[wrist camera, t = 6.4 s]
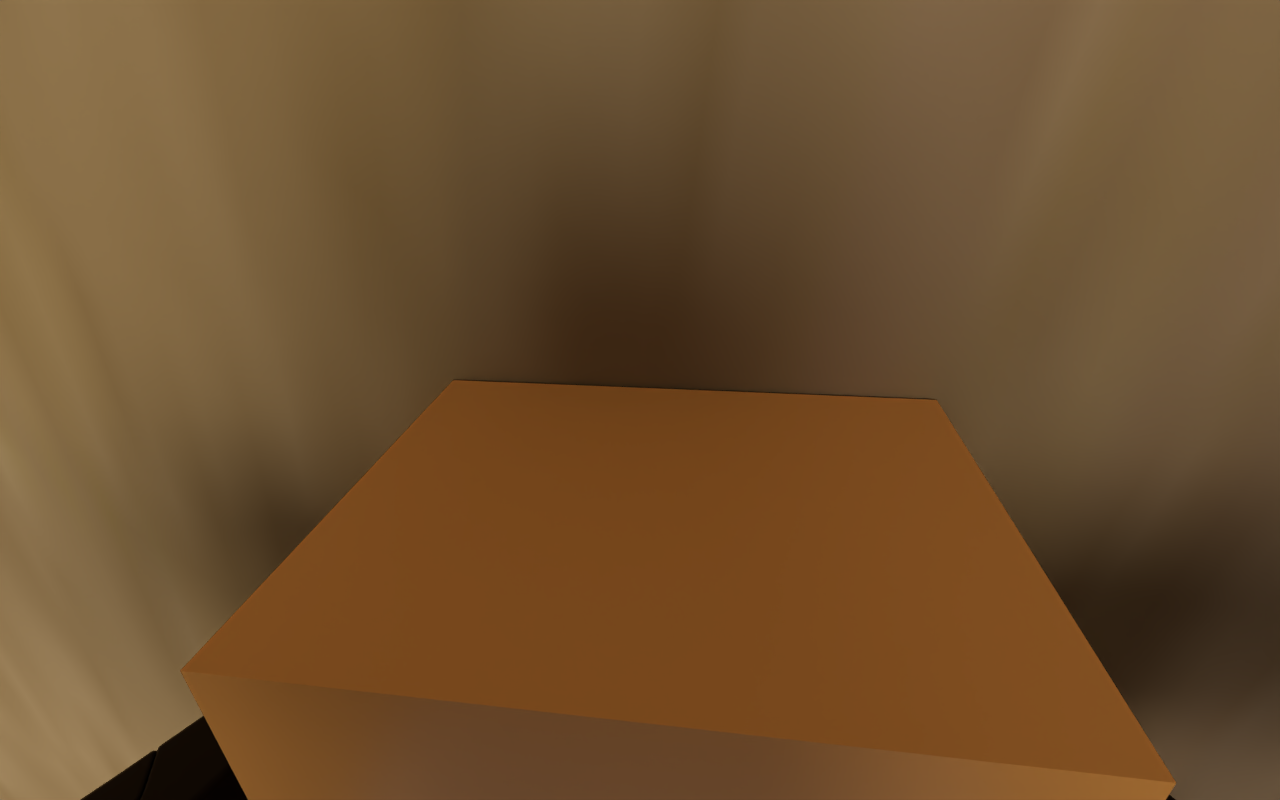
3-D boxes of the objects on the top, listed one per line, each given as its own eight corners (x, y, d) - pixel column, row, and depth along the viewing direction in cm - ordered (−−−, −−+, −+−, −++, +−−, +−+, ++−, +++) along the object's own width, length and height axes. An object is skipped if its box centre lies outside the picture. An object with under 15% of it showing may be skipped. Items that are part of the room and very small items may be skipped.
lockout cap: (936, 399, 9) (1176, 781, 4) (863, 728, 12) (946, 1152, 7) (453, 379, 10) (180, 670, 5) (508, 689, 13) (376, 1043, 8)
